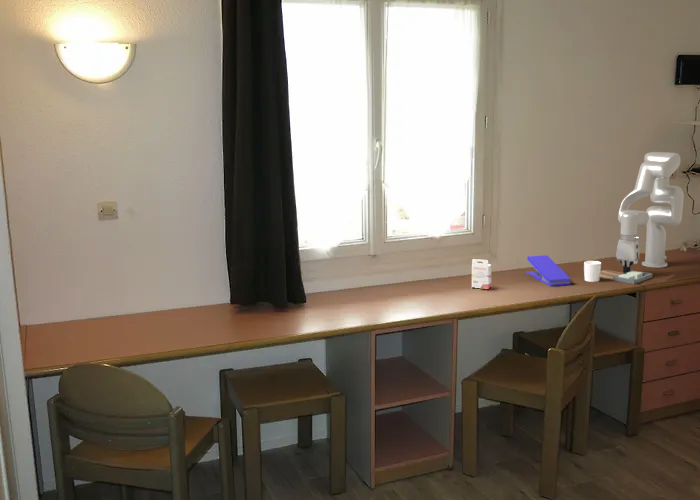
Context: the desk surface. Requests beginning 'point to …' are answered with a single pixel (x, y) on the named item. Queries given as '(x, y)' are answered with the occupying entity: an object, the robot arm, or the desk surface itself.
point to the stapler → (548, 271)
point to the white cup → (592, 271)
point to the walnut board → (609, 274)
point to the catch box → (645, 277)
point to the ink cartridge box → (481, 274)
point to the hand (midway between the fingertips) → (626, 273)
